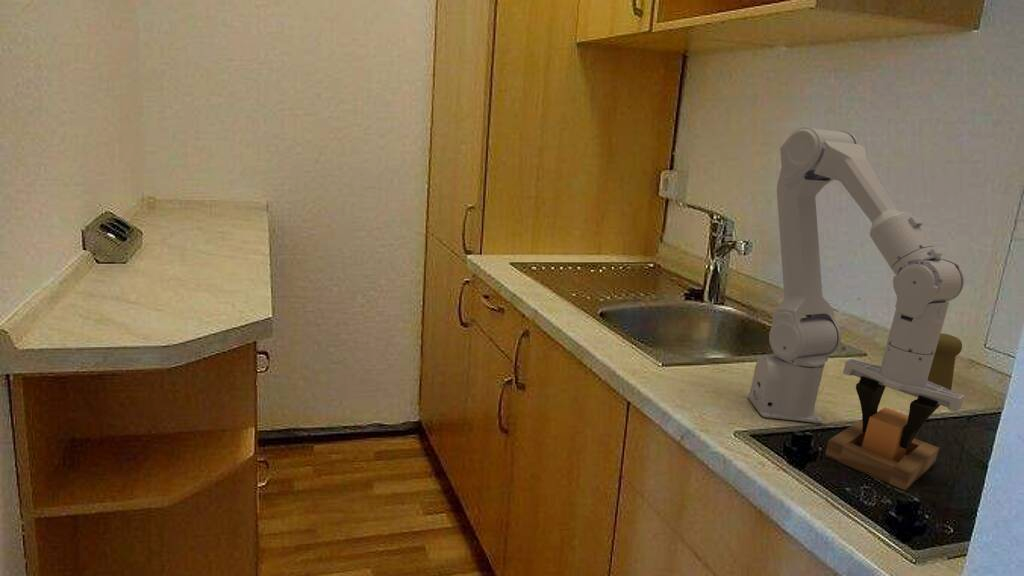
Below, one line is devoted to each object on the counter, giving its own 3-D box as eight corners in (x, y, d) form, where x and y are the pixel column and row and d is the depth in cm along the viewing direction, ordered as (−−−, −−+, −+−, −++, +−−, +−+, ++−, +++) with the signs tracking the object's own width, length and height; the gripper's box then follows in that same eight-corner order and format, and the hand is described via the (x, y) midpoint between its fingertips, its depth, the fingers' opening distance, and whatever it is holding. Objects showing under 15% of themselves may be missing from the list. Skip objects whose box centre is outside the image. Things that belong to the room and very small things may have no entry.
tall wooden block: (889, 468, 95) (900, 428, 93) (859, 456, 98) (869, 417, 96) (904, 456, 99) (915, 418, 97) (874, 444, 102) (885, 407, 100)
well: (905, 490, 90) (910, 473, 89) (824, 456, 97) (828, 439, 97) (934, 463, 99) (939, 447, 98) (858, 433, 106) (862, 418, 105)
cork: (916, 382, 131) (931, 327, 128) (952, 393, 128) (969, 337, 125) (909, 390, 127) (925, 333, 124) (947, 402, 123) (964, 343, 120)
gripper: (844, 335, 96) (822, 424, 99) (963, 371, 86) (934, 469, 89) (863, 327, 101) (842, 413, 104) (978, 360, 91) (950, 454, 94)
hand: (885, 438), depth 97 cm, fingers open, 4 cm apart
